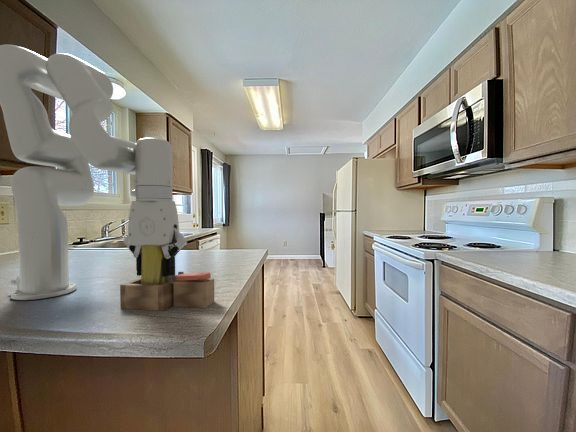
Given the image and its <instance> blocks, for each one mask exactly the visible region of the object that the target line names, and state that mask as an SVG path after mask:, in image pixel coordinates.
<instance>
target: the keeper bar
mask: <svg viewBox="0 0 576 432" xmlns="http://www.w3.org/2000/svg"><path fill="white" fill-rule="evenodd" d="M175 275H176V276H174V280H175V281H185V280H205V279H209V278H211V277H212V276H211V272H210V271H209V272H206V271H205V272H194V273H193V272H190V273H189V272H188V273H184V274H178V273H177V274H175Z"/></svg>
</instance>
